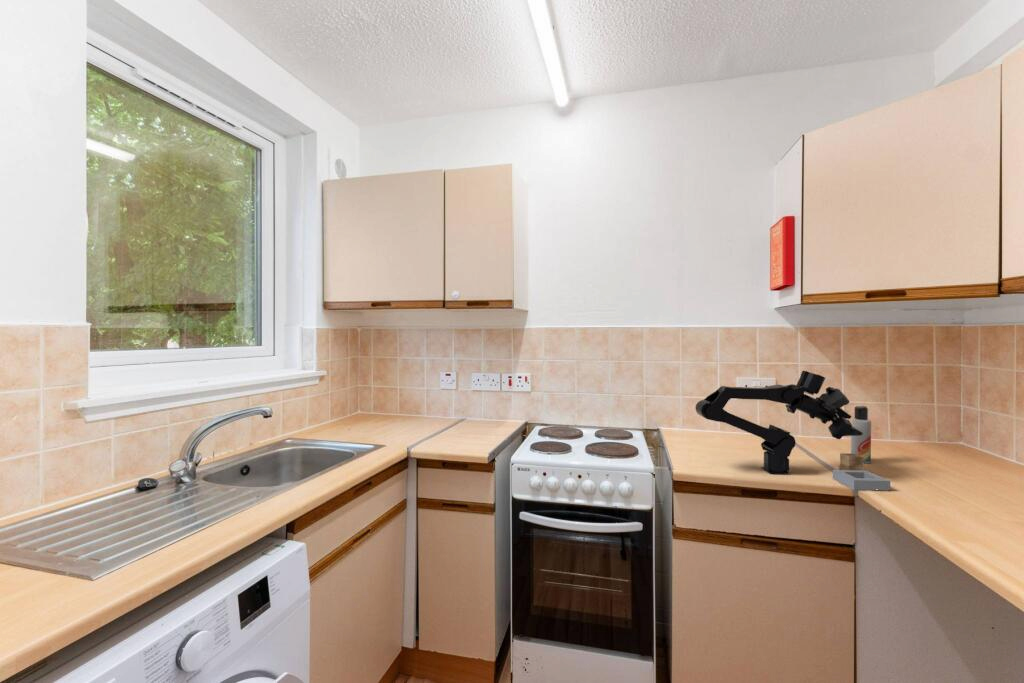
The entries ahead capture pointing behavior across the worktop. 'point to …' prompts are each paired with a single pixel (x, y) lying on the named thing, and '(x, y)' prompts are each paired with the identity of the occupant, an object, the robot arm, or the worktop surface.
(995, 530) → the worktop surface
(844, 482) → the socket block
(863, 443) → the lotion bottle
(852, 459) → the peg
